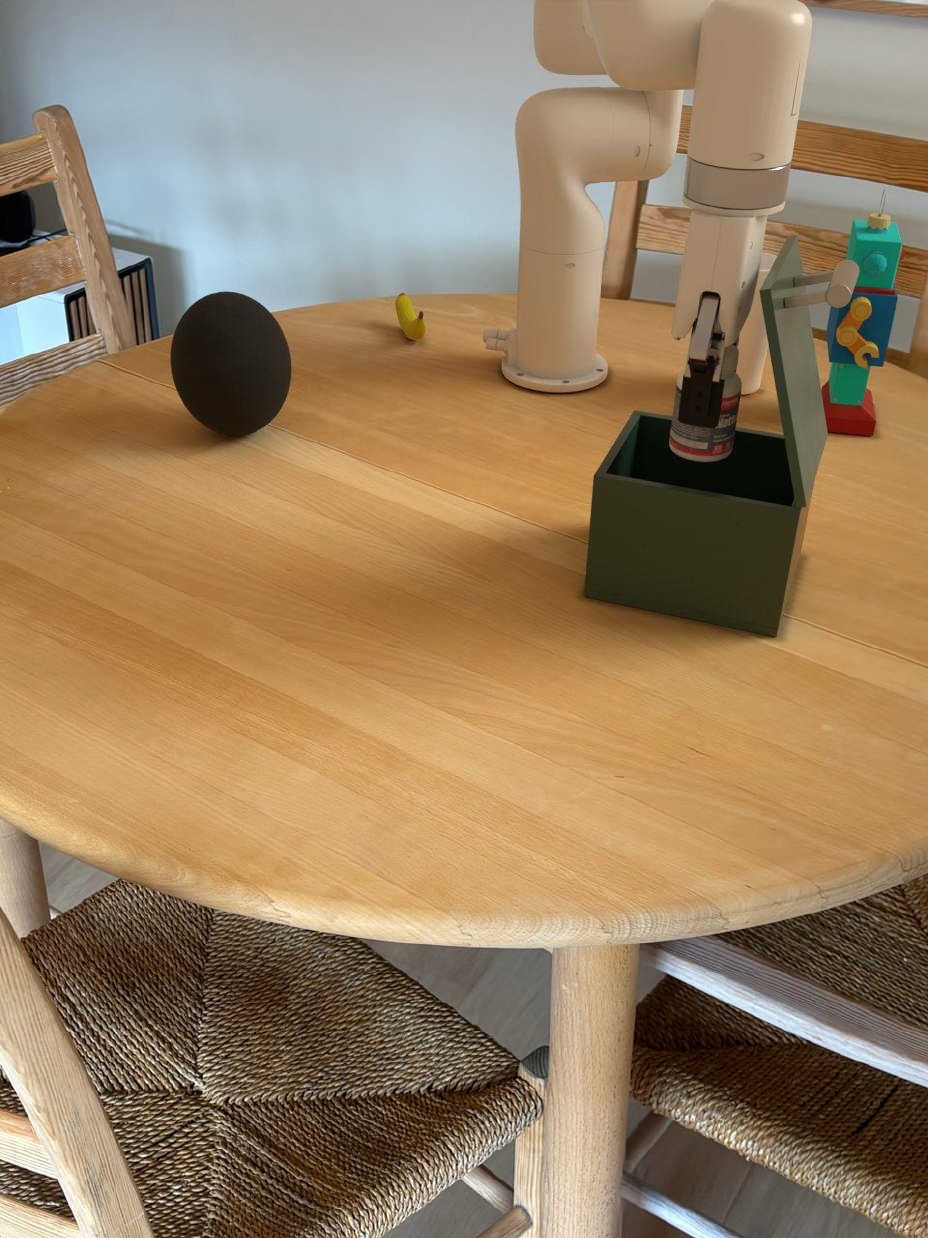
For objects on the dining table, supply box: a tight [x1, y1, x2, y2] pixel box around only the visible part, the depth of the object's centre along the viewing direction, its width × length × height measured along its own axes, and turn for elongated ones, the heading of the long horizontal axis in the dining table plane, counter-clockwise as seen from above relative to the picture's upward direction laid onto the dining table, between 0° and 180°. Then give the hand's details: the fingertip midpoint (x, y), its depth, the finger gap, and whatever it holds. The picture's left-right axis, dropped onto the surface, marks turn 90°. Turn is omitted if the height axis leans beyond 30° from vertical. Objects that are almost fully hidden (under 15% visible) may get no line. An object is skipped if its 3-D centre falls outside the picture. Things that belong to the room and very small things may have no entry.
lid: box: [759, 234, 859, 508], centre depth 97 cm, size 17×14×6 cm
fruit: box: [394, 292, 427, 341], centre depth 155 cm, size 10×2×5 cm, turn 17°
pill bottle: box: [669, 340, 742, 462], centre depth 102 cm, size 5×5×9 cm
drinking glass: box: [736, 251, 778, 396], centre depth 141 cm, size 7×7×15 cm
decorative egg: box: [169, 290, 293, 437], centre depth 130 cm, size 12×12×15 cm
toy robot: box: [821, 188, 906, 437], centre depth 132 cm, size 12×6×25 cm, turn 168°
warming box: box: [583, 409, 816, 638], centre depth 107 cm, size 17×14×12 cm
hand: (705, 407), depth 102 cm, fingers closed on pill bottle, 5 cm apart
